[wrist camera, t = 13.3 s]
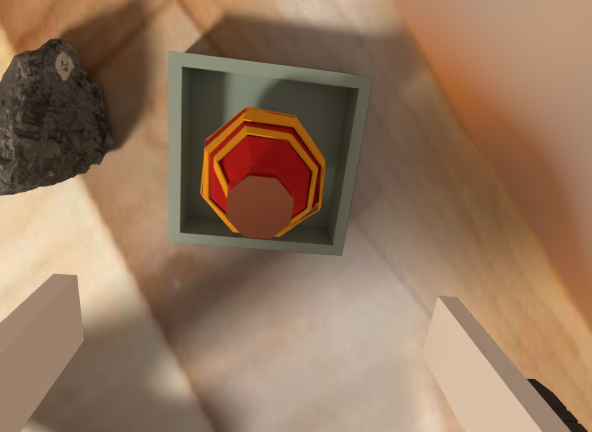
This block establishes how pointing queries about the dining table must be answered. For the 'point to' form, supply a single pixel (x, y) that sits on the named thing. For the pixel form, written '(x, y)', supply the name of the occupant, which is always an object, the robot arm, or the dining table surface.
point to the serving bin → (273, 97)
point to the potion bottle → (262, 173)
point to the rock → (49, 119)
